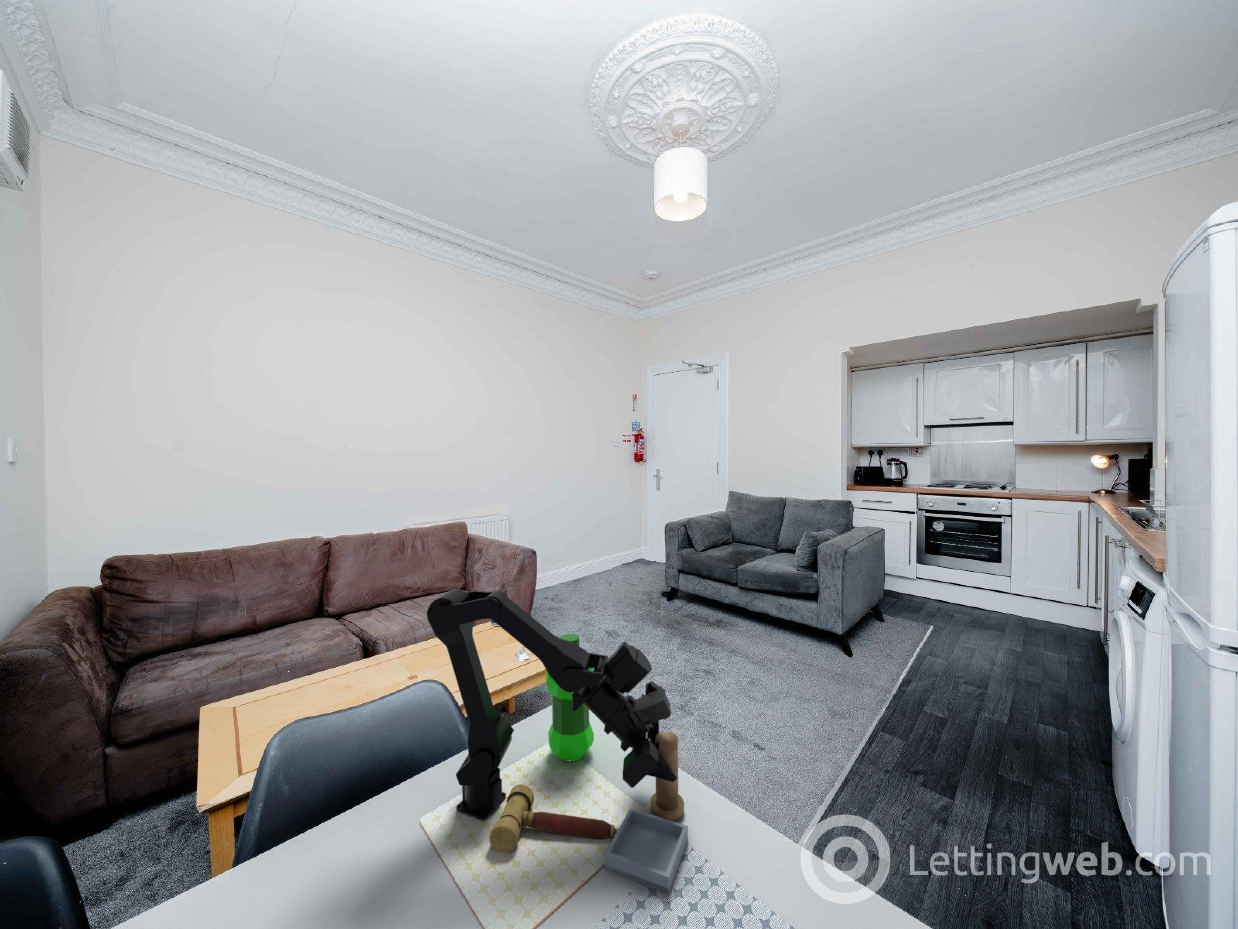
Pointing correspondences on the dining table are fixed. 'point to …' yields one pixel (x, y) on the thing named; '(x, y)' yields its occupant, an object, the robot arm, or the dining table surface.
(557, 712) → the plastic bottle
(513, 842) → the gavel
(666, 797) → the walnut handle
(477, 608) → the robot arm
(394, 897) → the dining table surface
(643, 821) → the box
